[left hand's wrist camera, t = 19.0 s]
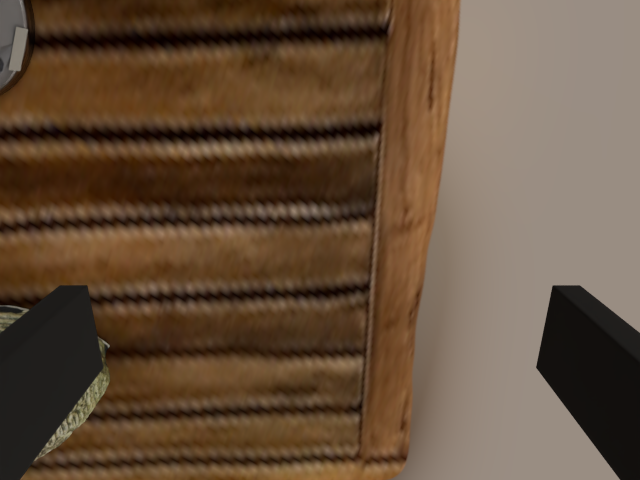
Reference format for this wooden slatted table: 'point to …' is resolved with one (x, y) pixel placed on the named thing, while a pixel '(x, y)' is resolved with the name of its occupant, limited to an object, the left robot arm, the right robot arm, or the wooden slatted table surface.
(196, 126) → the wooden slatted table surface
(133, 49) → the wooden slatted table surface
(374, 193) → the wooden slatted table surface
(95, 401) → the fossil
